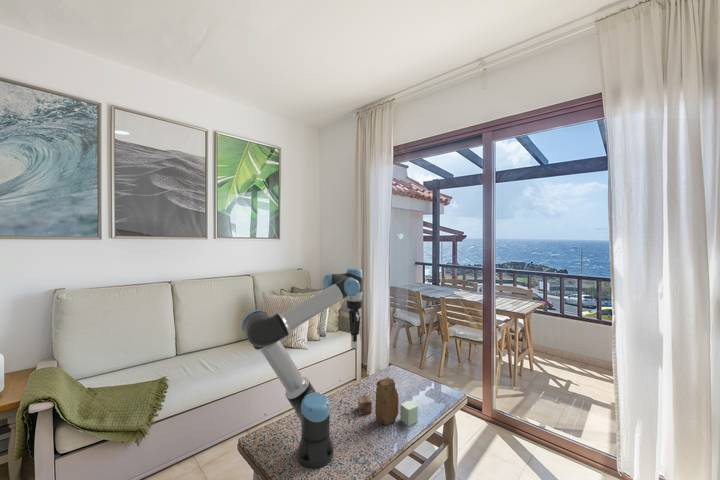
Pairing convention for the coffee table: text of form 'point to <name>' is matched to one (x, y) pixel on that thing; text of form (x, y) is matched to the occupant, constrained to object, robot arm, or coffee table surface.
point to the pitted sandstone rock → (386, 401)
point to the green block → (408, 413)
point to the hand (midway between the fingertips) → (354, 347)
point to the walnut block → (364, 404)
